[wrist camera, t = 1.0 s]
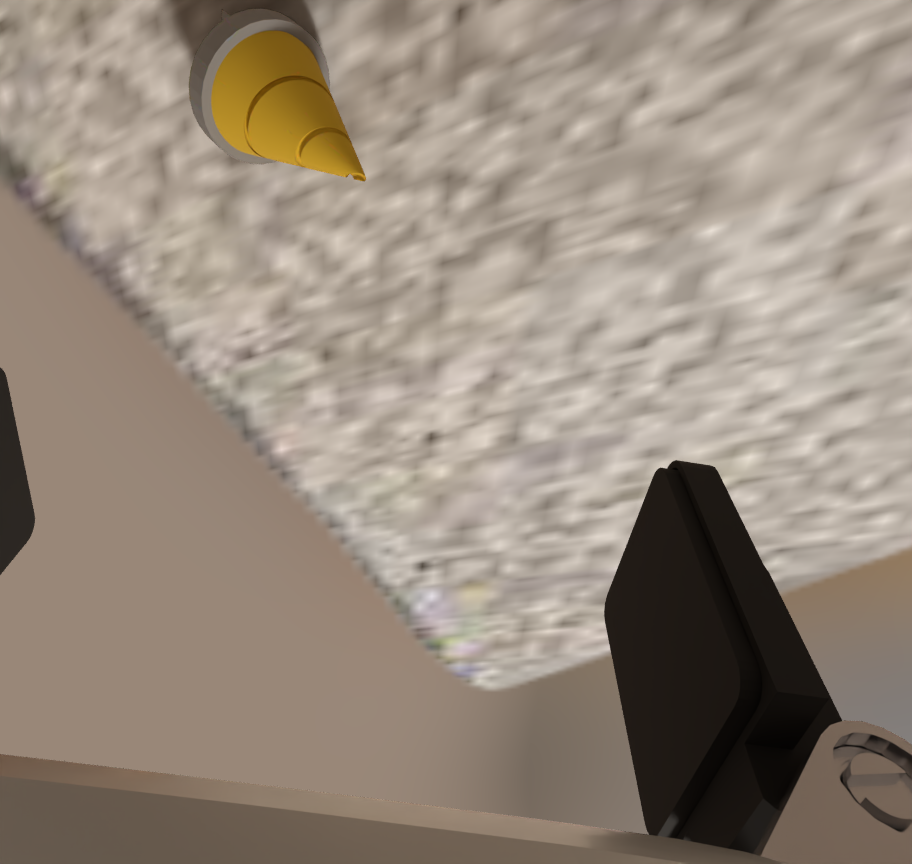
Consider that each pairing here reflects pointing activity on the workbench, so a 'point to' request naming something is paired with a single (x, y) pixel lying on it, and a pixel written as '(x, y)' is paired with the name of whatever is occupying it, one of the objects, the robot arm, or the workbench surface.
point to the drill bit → (269, 95)
